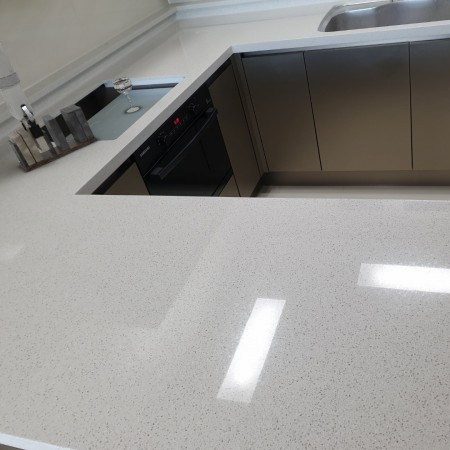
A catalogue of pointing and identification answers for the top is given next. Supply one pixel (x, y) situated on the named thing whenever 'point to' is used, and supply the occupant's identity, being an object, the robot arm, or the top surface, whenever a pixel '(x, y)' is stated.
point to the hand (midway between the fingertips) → (35, 134)
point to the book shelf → (30, 152)
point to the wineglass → (124, 89)
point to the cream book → (37, 140)
